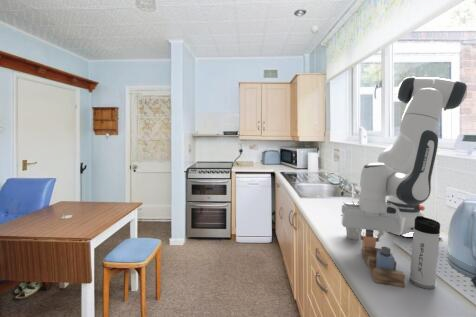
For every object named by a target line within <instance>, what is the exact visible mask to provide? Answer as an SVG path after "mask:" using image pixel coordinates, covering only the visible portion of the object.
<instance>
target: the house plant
mask: <svg viewBox="0 0 476 317" xmlns="http://www.w3.org/2000/svg"><path fill="white" fill-rule="evenodd" d="M351 201H352V204H355V203H354V201H353V200H351ZM342 203H343V205H344V204H346V203H345V202H344V201H343V202H342ZM356 204H359V200H358V201H357V203H356ZM345 206H346V205H345ZM342 215H343V213H342V214H341V215H340V216H341V217H342ZM345 230H346V237H347V238H348V239H350V240H356V241H357V240H359V234H358V232H357V230H356V228H349V227H345ZM362 231H363V229H361V231H360V233H361V234H362V233H363V232H362Z"/></svg>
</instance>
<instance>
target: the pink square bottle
mask: <svg viewBox="0 0 476 317" xmlns="http://www.w3.org/2000/svg"><path fill="white" fill-rule="evenodd" d="M374 231H375V230H366V229H365V232H362V234H363V235H364V240H361V250H363V246H364V247H372V248H377V245H376V244H377V242H376V237H375V236H376V235H375V233H374Z"/></svg>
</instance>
